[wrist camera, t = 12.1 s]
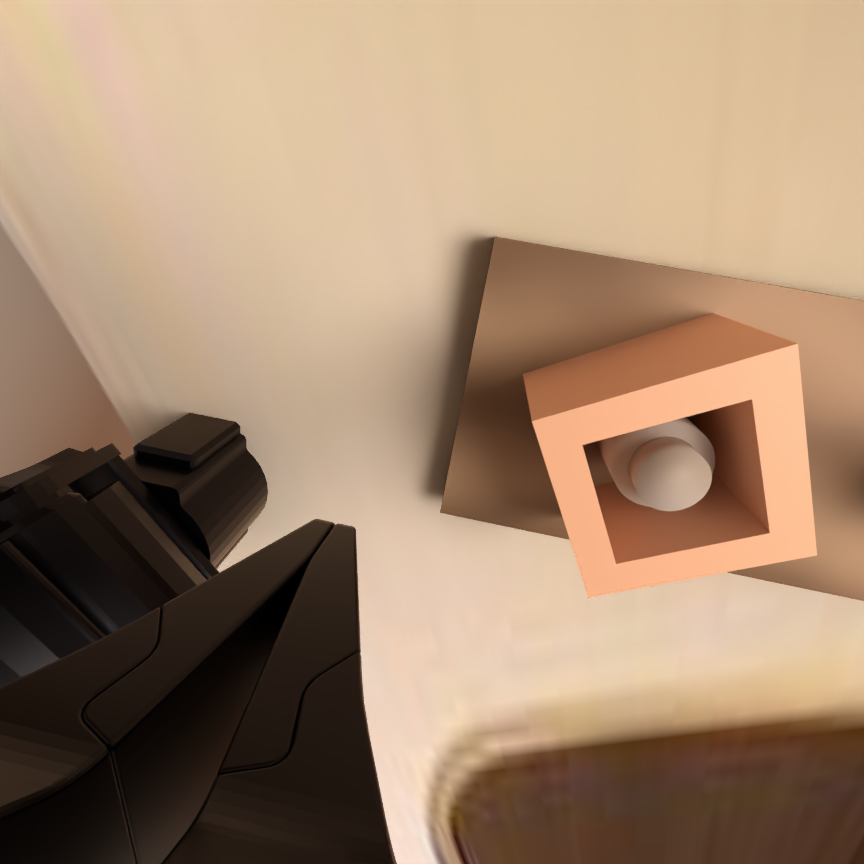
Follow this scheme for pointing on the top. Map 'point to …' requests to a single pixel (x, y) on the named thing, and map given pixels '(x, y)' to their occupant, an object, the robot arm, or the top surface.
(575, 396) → the collar
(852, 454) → the collar board
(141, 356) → the top surface
